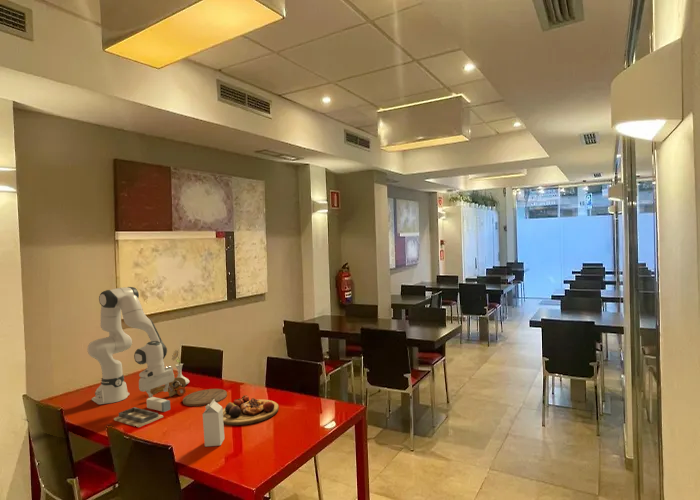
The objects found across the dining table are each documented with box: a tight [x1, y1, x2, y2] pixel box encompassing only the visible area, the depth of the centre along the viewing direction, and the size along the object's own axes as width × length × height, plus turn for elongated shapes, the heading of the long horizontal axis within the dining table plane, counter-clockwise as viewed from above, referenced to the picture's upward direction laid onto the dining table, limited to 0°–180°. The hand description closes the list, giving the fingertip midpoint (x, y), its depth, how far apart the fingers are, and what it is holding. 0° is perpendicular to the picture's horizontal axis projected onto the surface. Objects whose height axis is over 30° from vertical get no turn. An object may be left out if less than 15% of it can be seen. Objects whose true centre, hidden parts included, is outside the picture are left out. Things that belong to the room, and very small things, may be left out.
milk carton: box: [202, 399, 225, 447], centre depth 196 cm, size 7×7×19 cm
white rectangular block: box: [146, 396, 171, 413], centre depth 245 cm, size 16×4×5 cm, turn 58°
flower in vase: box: [171, 348, 190, 385], centre depth 284 cm, size 13×11×25 cm
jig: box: [113, 406, 164, 428], centre depth 231 cm, size 23×14×3 cm, turn 58°
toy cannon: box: [150, 372, 187, 397], centre depth 264 cm, size 8×21×14 cm, turn 123°
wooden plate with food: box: [223, 395, 280, 426], centre depth 229 cm, size 32×32×8 cm
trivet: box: [182, 388, 228, 408], centre depth 257 cm, size 25×25×2 cm
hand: (158, 394), depth 244 cm, fingers open, 8 cm apart
